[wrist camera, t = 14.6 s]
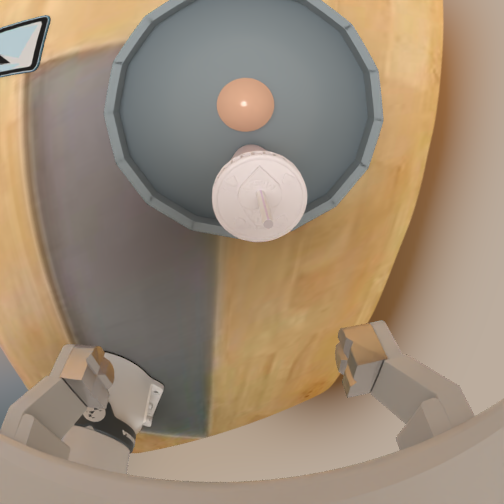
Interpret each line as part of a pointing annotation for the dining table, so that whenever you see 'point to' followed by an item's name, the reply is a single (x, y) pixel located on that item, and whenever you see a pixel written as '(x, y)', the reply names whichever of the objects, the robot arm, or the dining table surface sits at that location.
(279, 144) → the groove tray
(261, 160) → the smoothie
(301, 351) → the dining table surface
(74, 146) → the dining table surface
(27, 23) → the smartphone
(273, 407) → the dining table surface
